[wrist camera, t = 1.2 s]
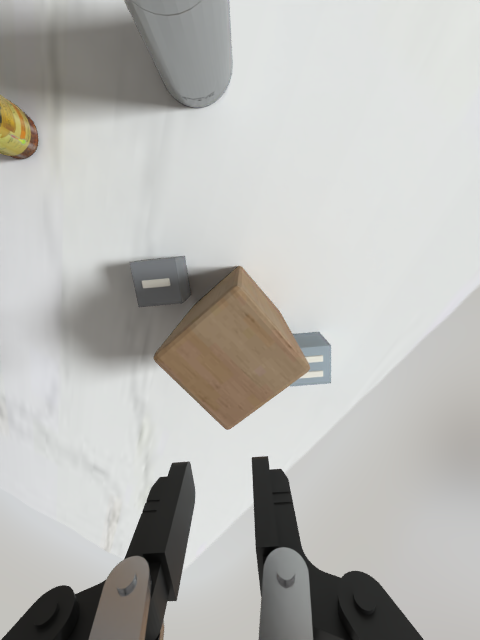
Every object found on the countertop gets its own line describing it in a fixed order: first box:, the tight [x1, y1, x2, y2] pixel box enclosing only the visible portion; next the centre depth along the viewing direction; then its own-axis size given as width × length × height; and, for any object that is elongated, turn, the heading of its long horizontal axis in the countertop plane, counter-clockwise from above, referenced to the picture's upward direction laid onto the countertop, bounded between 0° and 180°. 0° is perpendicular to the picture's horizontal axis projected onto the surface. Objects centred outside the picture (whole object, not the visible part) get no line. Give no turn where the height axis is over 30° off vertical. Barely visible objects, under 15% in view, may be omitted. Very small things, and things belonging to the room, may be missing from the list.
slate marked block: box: [290, 332, 331, 386], centre depth 40 cm, size 6×6×6 cm
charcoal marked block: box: [130, 256, 191, 307], centre depth 37 cm, size 6×6×6 cm
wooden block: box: [154, 266, 310, 430], centre depth 32 cm, size 10×10×20 cm
